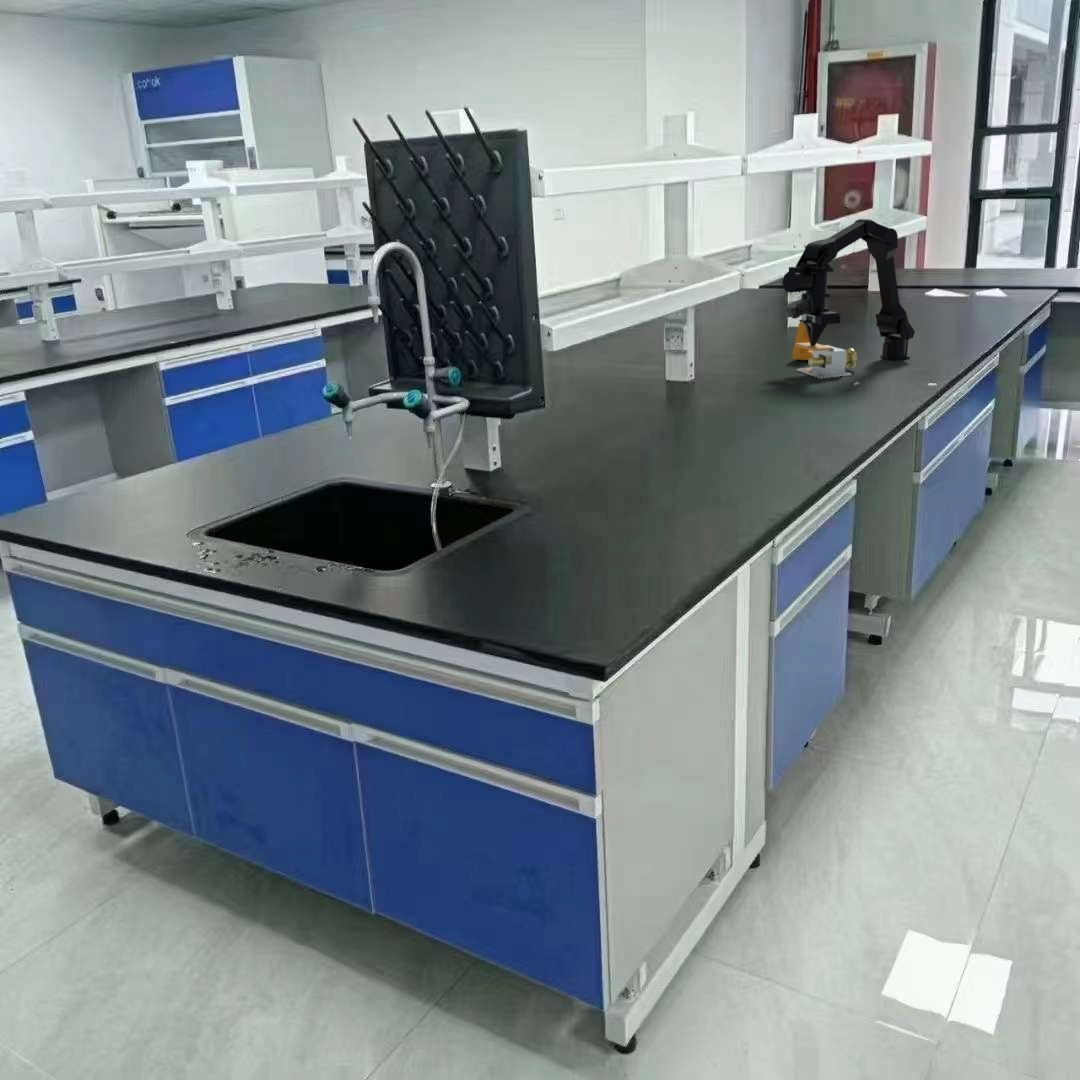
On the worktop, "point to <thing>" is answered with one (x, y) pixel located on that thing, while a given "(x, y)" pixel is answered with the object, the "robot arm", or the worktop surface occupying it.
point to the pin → (850, 359)
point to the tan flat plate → (814, 347)
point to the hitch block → (828, 364)
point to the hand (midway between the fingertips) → (812, 345)
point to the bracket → (802, 338)
